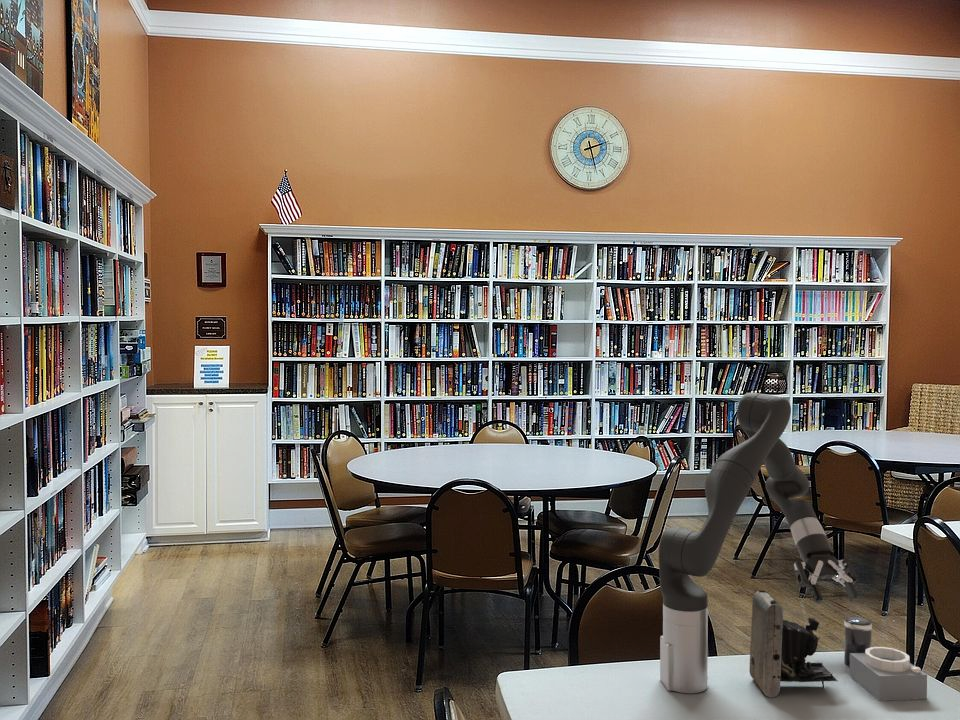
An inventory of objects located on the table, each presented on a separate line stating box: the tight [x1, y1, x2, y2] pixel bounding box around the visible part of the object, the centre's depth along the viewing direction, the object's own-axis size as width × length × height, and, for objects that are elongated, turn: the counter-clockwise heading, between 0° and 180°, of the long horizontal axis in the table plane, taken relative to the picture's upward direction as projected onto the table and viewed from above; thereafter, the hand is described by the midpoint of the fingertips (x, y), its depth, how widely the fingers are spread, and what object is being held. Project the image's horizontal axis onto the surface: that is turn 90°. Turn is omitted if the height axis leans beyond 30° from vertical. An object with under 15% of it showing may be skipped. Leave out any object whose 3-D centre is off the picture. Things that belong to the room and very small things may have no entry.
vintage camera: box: [749, 589, 838, 698], centre depth 172 cm, size 10×16×20 cm, turn 89°
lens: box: [843, 615, 873, 668], centre depth 185 cm, size 6×6×10 cm
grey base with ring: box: [849, 646, 928, 701], centre depth 173 cm, size 10×12×7 cm
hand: (837, 600), depth 192 cm, fingers open, 8 cm apart
